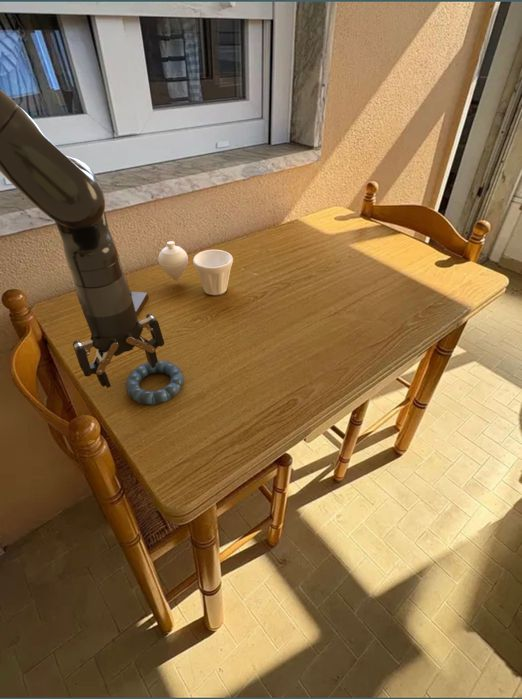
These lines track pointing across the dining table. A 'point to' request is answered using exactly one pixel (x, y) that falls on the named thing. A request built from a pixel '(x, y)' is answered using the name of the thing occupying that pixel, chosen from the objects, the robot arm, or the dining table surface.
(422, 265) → the dining table surface
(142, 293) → the stand
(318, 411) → the dining table surface
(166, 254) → the spinning top
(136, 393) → the blue teething ring
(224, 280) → the cup
